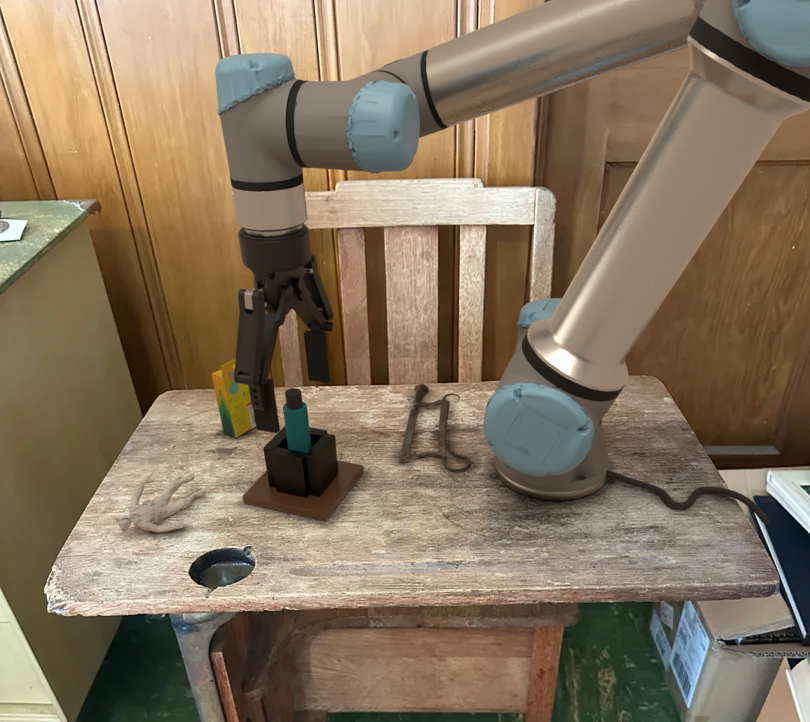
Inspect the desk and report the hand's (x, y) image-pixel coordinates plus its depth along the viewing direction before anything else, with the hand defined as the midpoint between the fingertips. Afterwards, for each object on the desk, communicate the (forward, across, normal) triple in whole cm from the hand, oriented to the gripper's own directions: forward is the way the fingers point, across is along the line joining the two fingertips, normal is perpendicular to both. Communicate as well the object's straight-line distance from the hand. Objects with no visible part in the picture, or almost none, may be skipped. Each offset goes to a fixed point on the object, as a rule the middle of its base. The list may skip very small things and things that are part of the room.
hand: (295, 404), depth 94 cm
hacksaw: (+13, -21, +12) cm, 27 cm away
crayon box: (+13, -12, -16) cm, 24 cm away
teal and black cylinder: (+11, 0, 0) cm, 11 cm away
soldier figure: (+13, +12, -14) cm, 22 cm away
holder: (+12, 0, 0) cm, 13 cm away
